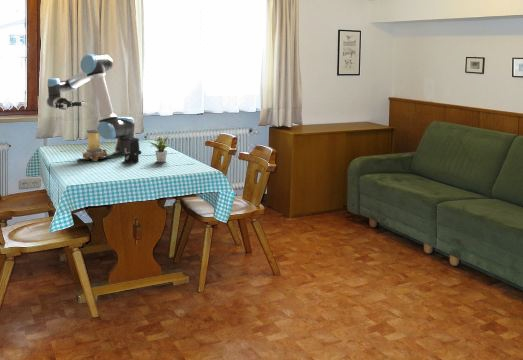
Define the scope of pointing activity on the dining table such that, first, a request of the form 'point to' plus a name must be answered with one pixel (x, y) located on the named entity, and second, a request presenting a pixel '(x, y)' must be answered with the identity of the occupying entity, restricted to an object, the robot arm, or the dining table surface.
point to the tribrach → (94, 155)
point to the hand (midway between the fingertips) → (76, 105)
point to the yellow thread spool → (93, 141)
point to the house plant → (160, 149)
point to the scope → (133, 151)
